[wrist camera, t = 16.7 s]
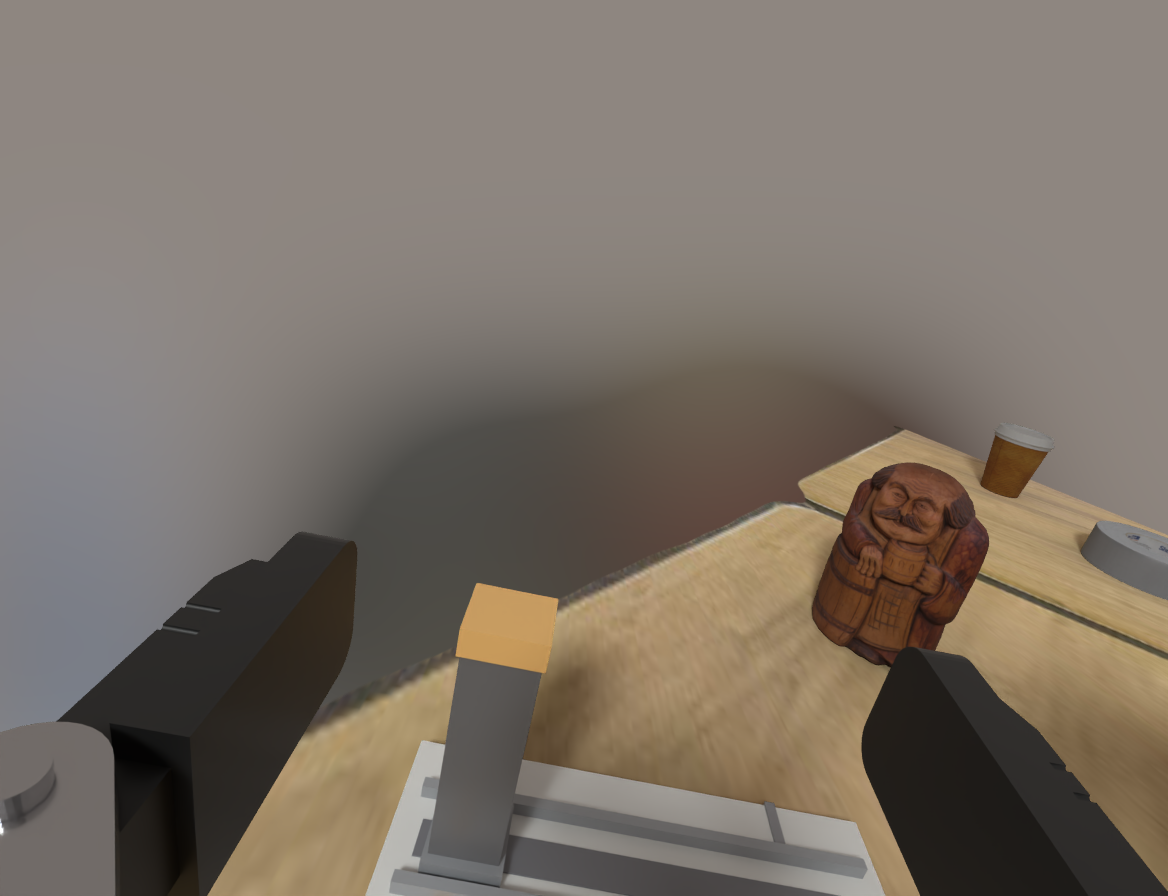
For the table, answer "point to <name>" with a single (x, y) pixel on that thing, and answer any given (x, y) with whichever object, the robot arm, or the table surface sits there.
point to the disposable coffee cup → (1014, 458)
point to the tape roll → (1130, 556)
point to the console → (631, 842)
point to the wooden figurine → (900, 563)
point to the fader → (488, 732)
